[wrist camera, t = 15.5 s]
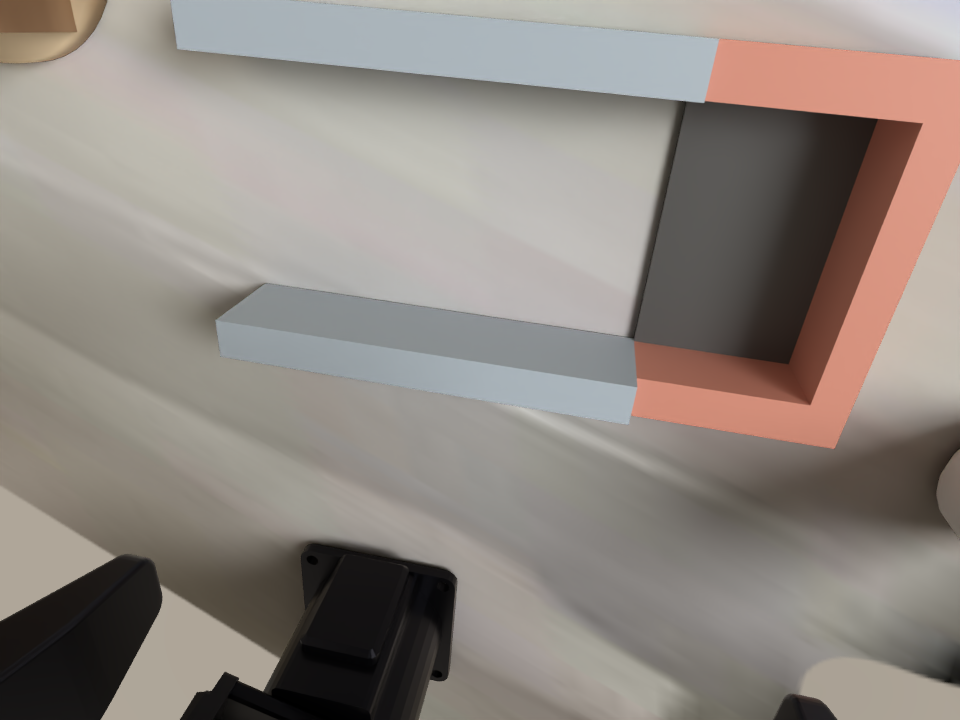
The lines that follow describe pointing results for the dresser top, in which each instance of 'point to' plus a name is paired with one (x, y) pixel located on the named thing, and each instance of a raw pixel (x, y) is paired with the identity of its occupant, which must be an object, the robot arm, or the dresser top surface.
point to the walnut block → (36, 16)
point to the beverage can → (950, 493)
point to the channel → (421, 330)
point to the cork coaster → (52, 37)
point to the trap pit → (791, 235)
